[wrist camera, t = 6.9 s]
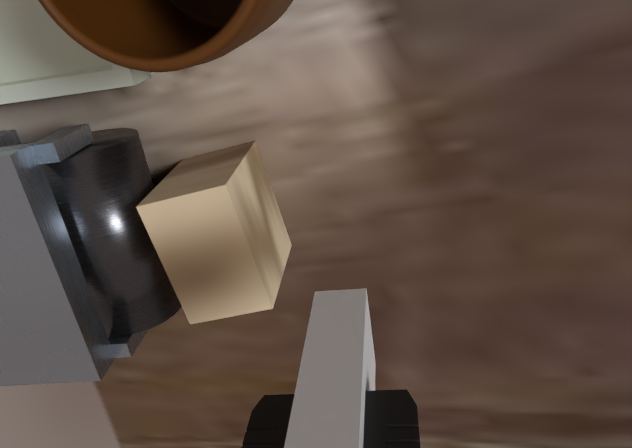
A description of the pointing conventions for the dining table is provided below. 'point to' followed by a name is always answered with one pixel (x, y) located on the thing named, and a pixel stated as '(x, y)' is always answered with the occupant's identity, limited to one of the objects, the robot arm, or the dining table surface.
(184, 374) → the dining table surface
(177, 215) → the block
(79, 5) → the mug
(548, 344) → the dining table surface
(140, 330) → the gray bench
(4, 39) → the tray
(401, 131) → the dining table surface
